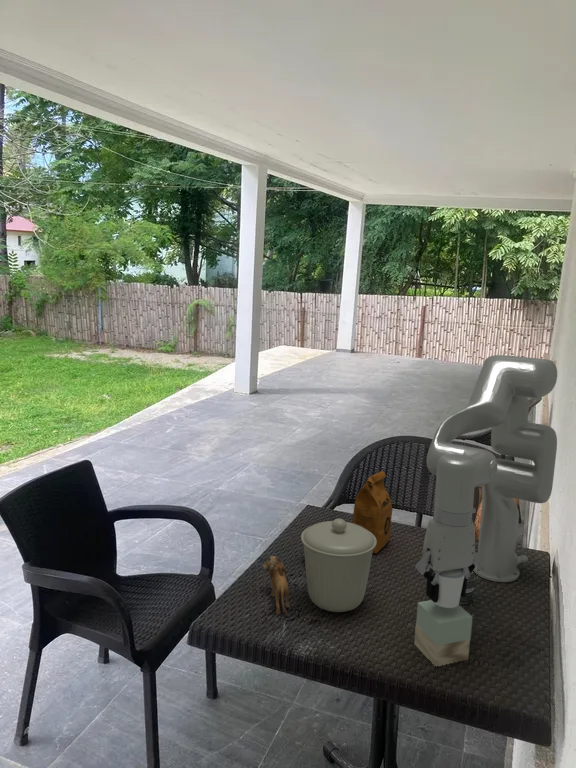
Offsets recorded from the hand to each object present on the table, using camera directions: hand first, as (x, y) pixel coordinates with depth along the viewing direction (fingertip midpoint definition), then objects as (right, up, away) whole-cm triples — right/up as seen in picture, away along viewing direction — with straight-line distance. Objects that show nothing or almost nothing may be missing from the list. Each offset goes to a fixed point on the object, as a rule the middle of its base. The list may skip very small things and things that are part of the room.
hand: (445, 595), depth 120 cm
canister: (-21, -9, +21) cm, 31 cm away
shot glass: (0, -1, 0) cm, 1 cm away
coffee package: (-8, -4, +51) cm, 52 cm away
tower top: (0, -8, +1) cm, 8 cm away
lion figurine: (-36, -9, +20) cm, 42 cm away
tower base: (0, -13, +2) cm, 13 cm away
